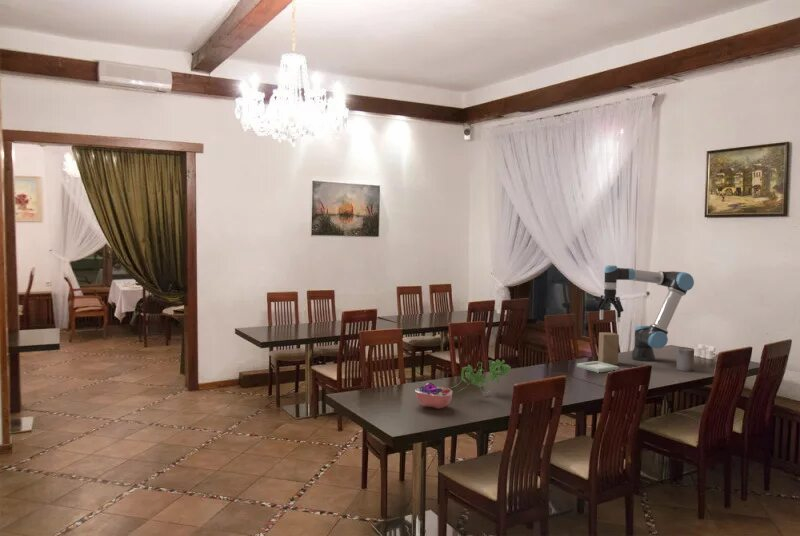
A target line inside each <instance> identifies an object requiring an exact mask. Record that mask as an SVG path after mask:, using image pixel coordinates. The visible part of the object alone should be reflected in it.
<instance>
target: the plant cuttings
mask: <svg viewBox="0 0 800 536" xmlns="http://www.w3.org/2000/svg"><path fill="white" fill-rule="evenodd" d="M479 364H481V365H480V366H479ZM488 364H489V376H487V377H484V376H485V374H486V373H485V369H483V363H481V361H478V362H477V365H476V366H477V367H478V369H476V368H473V366H472V365H471V364H468V365H467V366H461V371H460V372H461V373H460V378H461V379H460V382H463V383H465V384H467V386H470V384H471V385H473V386H478V387H477V388H479V390H480V392H481V394H482V396H484V397H486V394H487V395H491V391H490V390H488V389H487V388H486V386H487V382H489V383H492V382H493V381H495V382H496V383H497V384H499V383H500V379H499V377H501V376H506V377H509V374H508V373H509V372H510V371H511V369H512V368H511V366H510V365H509V364H507V363H506V361H505V359H502V360H499V359H495V361H494V360H493V359H491V360H490V359H489V360H488ZM476 370H477V371H476ZM474 372H476V373H474ZM466 378H467V380H466ZM468 381H470V382H468ZM486 381H487V382H486ZM457 386H459V383H457V384H456V385H454V386H451V387H450V389H453V388H456V387H457ZM467 386H465V387H463V388H462V389H460V390H458V391H457V393H458V392H460V391H462V390H463V389H466V388H467ZM482 388H484V390H485V391H483V389H482Z"/></svg>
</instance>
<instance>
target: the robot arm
mask: <svg viewBox="0 0 800 536" xmlns="http://www.w3.org/2000/svg"><path fill="white" fill-rule="evenodd" d="M619 280H620V281H621V280H623V281H635V282H643V283H651V284H656V285H657V286H663V287H667V290H668V292H667V294H666V296H665V298H664V301H663V302H662V305H661V307H660V309H659V311H658V313H657V316H656V319H655V320H654V322H653V323H652V324H650V325H637V326H636V325H635V328H634V347H633V350H632V353H631V359H633V360H636V361H641V360H643V361H642V362H652V361H656V356H655V353H654V352H655V351H654V349H657V350H658V349H662V348H664V347H665V346H666V345H667V343H668V342H669V338H668V333H669V331H668V327H669V325H670V323H671V320H672V318H673V317H674V314H675V312H676V310H677V307H678V305H679V303H680V302H681V299H682V297H683V296H686V294H687V292H688V291H690V290H692V288H693V287H694V285H695V279H694V277H693V276H692V274H690V273H687V272H684V271H674V270H671V271H662V270H661V271H660V270H659V271H658V272H657V271H649V270H641V269H633V268H629V267H627V268H624V267H618V266H617V265H614V264H613V265H611V264H610V265H605V267H604V283H603V284H604V285H603V286H604V290H603V291H604V292H603V294H602V295H600V298H599V301H598V304H597V305H596V309H598V314H599V320H601V321H603V320H604V311H605V310H604V308H605V307H606V305H607V304H612V306H613V307H614V309H615V310H616V313H615V323H620V321H621V316H622V315H621V314H622V312H624V308H623V304H622V302H621V298H620V296H617V282H618V281H619Z"/></svg>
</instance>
